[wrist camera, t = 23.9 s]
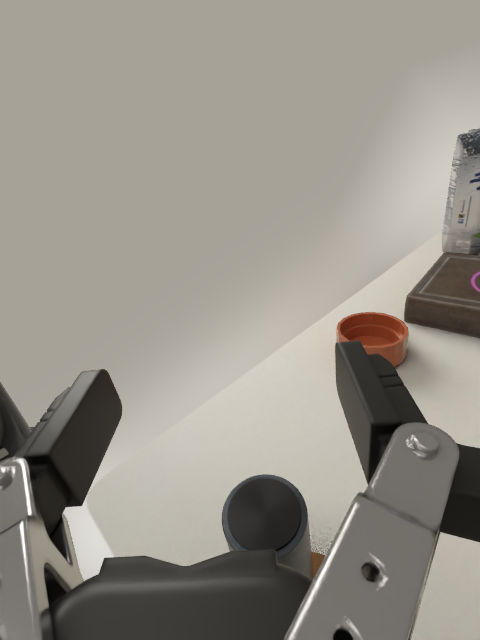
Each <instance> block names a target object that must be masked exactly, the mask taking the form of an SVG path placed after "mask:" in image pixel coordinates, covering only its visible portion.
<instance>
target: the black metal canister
mask: <svg viewBox="0 0 480 640" xmlns="http://www.w3.org/2000/svg"><path fill="white" fill-rule="evenodd" d="M222 526H223V531H224V534H225V537H226V540H227V543H228V546H229V550H230V552H231V551H246V550H265V549H275V550H276V556H277V561H278V563H279V564H283V565H286V566H289V567H291V568H294V569H296V570H298V571H300V572H302V573H303V574H305V575H307V576H308V577H310V578H311V579H313V580H314V577H313V566H312V556H311V545H310V534H309V524H308V514H307V507H306V503H305V501H304V498H303V497H302V495H301V493H300V492H299V491H298V489H297V488H296V487H295V486H294V485H293V484H291V483H290V482H289V481H287V480H285V479H283V478H281V477H278V476H274V475H257V476H253V477H250V478H248V479H246V480H244V481H242V482H241V483H240V484H238V485H237V486H236V487H235V488H234V489H233V490H232V491H231V493H230V494H229V496H228V498H227V500H226V502H225V504H224V507H223V512H222Z"/></svg>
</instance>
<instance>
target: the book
mask: <svg viewBox="0 0 480 640" xmlns="http://www.w3.org/2000/svg"><path fill="white" fill-rule="evenodd" d="M404 321H406V322H410V323H415V324H419V325H424V326H429V327H433V328H438V329H442V330H447V331H452V332H456V333H461V334H465V335H470V336H475V337H479V338H480V256H476V255H465V254H453V253H443V255H442V256H441V257H440V258H439V259H438V260H437V262H436V263H435V264H434V265H433V266H432V267H431V269H430V270H429V271H428V272H427V273H426V274H425V276H424V277H423V278H422V279H421V280H420V281H419V283H418V284H417V285H416V286H415V287H414V288H413V290H412V291H411V292H410V293H409V294H408V295H407V298H406V303H405V311H404Z"/></svg>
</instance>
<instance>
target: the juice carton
mask: <svg viewBox="0 0 480 640" xmlns="http://www.w3.org/2000/svg"><path fill="white" fill-rule="evenodd" d="M442 249H443V251H444V252H450V253H460V254H469V255H476V254H477V253H478V252H479V251H480V129H473V130H470V131H469V132H468V133H464V134H460V135H459V136H458V137H457V142H456V147H455V152H454V157H453V163H452V170H451V177H450V184H449V191H448V198H447V205H446V212H445V219H444V226H443V234H442Z"/></svg>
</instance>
